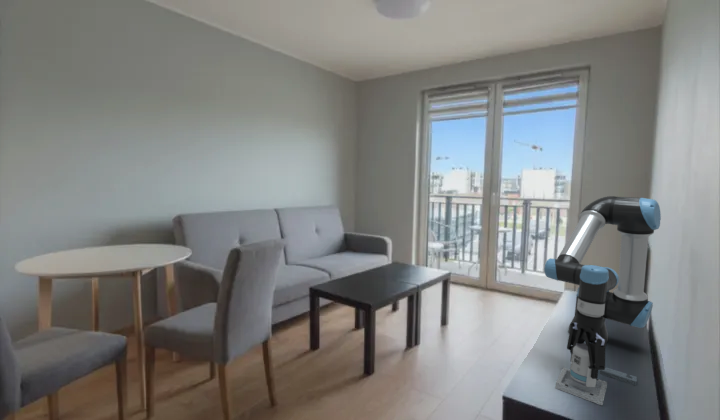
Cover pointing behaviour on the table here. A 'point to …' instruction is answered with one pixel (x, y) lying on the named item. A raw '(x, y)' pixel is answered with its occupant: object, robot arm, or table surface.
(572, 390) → the rail plate
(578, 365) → the beverage can
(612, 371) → the bracket
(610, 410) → the table surface
